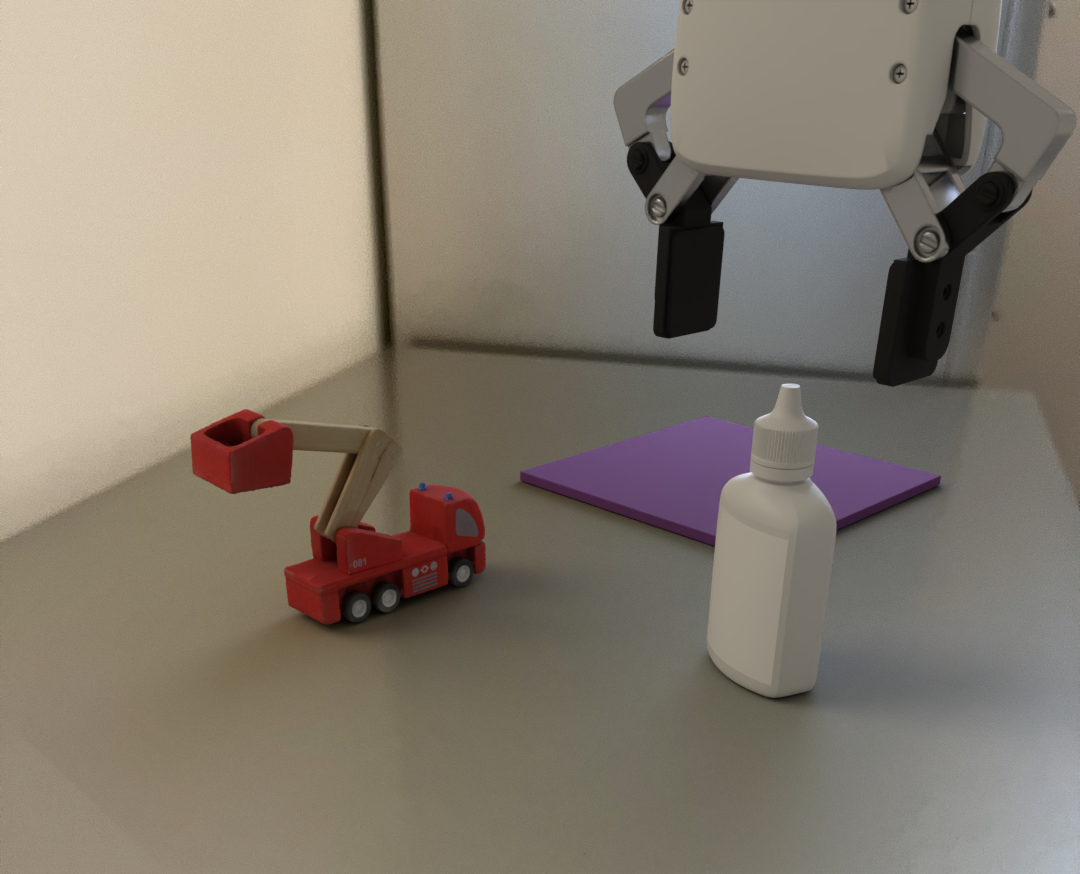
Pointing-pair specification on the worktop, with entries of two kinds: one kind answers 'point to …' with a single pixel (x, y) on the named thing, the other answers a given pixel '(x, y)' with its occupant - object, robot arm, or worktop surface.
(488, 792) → the worktop surface
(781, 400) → the eye dropper bottle
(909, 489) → the purple square mat
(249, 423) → the toy fire truck
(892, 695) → the worktop surface
